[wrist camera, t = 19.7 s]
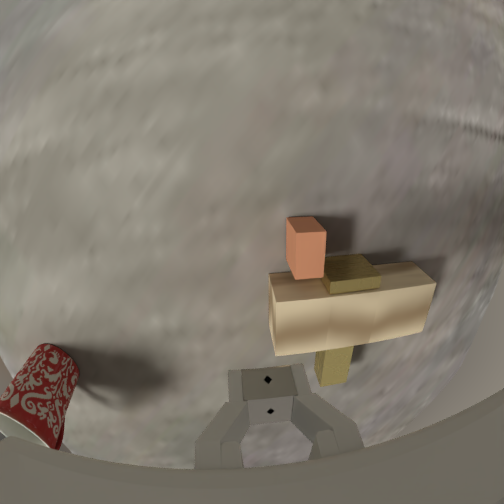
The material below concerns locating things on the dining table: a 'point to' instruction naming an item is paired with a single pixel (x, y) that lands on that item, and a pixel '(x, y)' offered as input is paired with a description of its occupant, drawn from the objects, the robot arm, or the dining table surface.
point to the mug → (39, 397)
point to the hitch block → (347, 310)
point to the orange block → (305, 247)
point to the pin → (337, 281)
